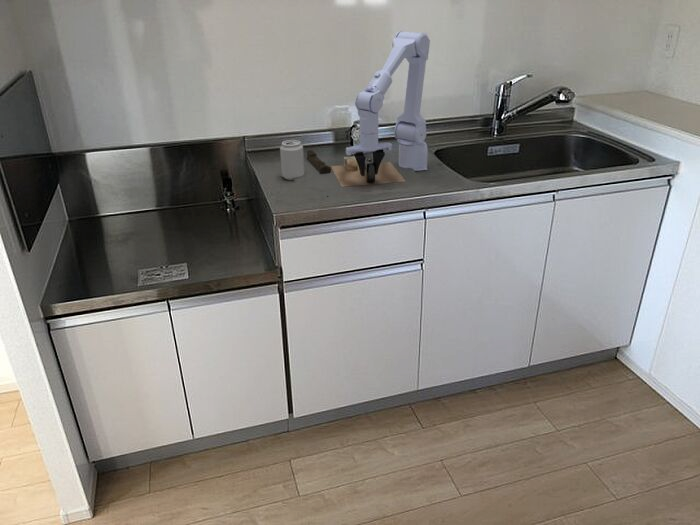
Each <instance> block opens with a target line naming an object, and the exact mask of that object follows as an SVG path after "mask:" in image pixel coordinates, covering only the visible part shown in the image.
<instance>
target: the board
mask: <svg viewBox="0 0 700 525" xmlns="http://www.w3.org/2000/svg"><path fill="white" fill-rule="evenodd" d="M349 158H355V157H354V155H353V156H343V165H331V166H330V167H331V170H332V171H333V173H334V175H335V178H337V181H338V183H339V186H340V187H341V188H343V187H355V186H356V187H358V186H367V185H368V186H369V185H382V184H394V183H402V182H403V183H404V182H407V181H406V179H405V178H404V177H403V175H401V173H400V172H399V170H397V168H396V167H395V166H394V164H393V163H392V162H391V161H381V163H380V166H379V169H378V174H375V182H374V183H368V182H366V169H365V176H362V175H361V174H360V170H359V166H358V170H357V171H348V170H347V159H349Z"/></svg>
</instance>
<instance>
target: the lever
mask: <svg viewBox="0 0 700 525" xmlns="http://www.w3.org/2000/svg"><path fill="white" fill-rule="evenodd" d="M365 169H366V182H368V183H374V182H375V162H373V157H367V158H366V159H365Z"/></svg>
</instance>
